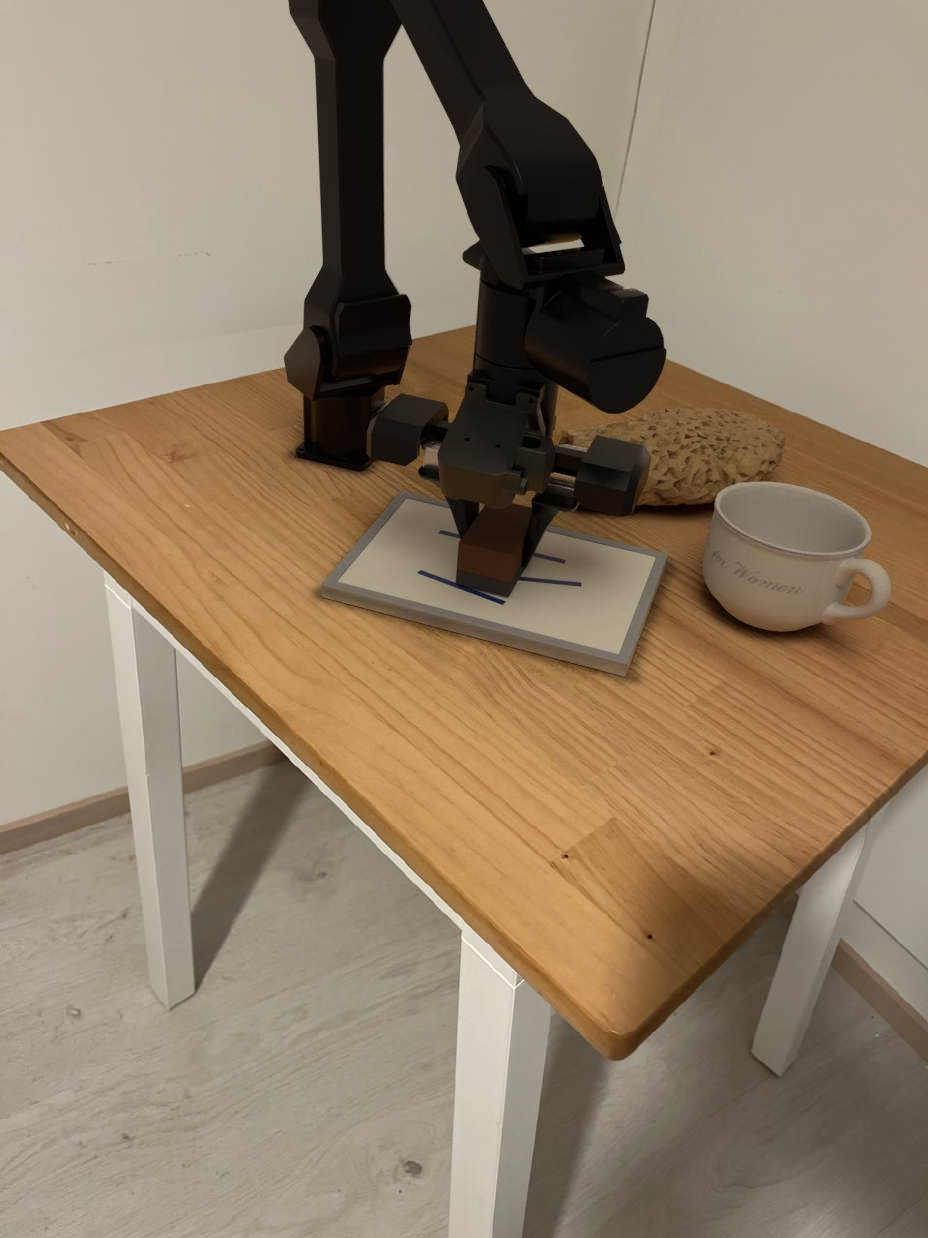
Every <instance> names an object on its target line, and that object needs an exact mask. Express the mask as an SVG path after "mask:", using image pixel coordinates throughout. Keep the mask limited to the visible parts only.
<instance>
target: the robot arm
mask: <svg viewBox="0 0 928 1238" xmlns="http://www.w3.org/2000/svg"><path fill="white" fill-rule="evenodd" d="M287 2H288V11H289V15H290V17H291V19H292V21H293V23H294V24H295V26H296V29H298V31H299V33H300V35H301V37H302V39H303V41H304V42H305V44H306V45H307V47H308V49H309V50H310V52H311V54H312V57H313V59H314V74H315V75H314V76H315V78H314V79H315V101H316V125H317V129H316V130H317V150H318V175H319V177H318V178H319V202H320V204H319V205H320V225H321V226H320V227H321V230H320V231H321V251H322V253H321V255H322V264H321V268H320V269H319V271H318V273H317V275H316V276H315V279H314V281H313V282H312V284H311V286H310V288H309V290H308V291H307V294H306V295H305V298H304V300H303V318H302V319H303V321H302V326H303V327H302V330H301V331H300V333H299V334H298V336H297V337H296V338H295V340H294V341H293V342H292V344H291V345H290V347H289V348H288V349H287V351H286V352H285V354H284V355H283V363H284V368H285V374H286V379H287V382H288V383H289V384H290V385H291V386H293V387H294V388H295V389H296V390H297V391H299V392H300V393H301V394H302V404H303V405H302V409H303V411H302V413H303V415H302V416H303V418H302V419H303V441H302V442H301V443H300V444H299V445H298V446H297V447H295V455H296V456H297V457H299V458H300V457H301V458H305V459H309V460H314V461H318V462H323V463H327V464H330V465H334V466H340V467H344V468H348V469H352V470H356V471H363V470H366V469H367V468H368V466H369V465H370V464H371V463H372V462H373V461H374V460H376V461H380V462H384V463H388V464H392V465H397V466H401V467H407V466H408V465H410V464H411V463H412V462H414V461H416V460H417V459H418V458H419V457H420V456H421V451H422V464H421V466H420V467H419V468H418V469H417V474H418V476H419V478H420V479H421V480H425V481H428V482H430V483H432V484H433V485H435V486H436V487H437V488H439V490H440V492H441V494H442V495H443V496H444V498H445V501H447V502H448V504H449V507H450V509H451V512H452V515H453V518H454V521H455V524H456V527H457V530H458V533H459V536H460V539H461V538H462V537H463V535H464V534H465V533H466V531H467V530H468V528H469V527H470V526H471V524H472V523H473V521H474V520H475V519H476V517H477V516H478V514H479V509H480V504H481V505H484V506H486V507H489V508H493V509H502V508H506V507H508V506H509V505H510V504H511V503H514V500H515V497H516V495H519V496H523V497H524V496H526V494H527V493H528V492H533V493H534V495H533V497H532V498H531V499H530V500H531V501H530V504H531V507H532V513H531V517H530V521H529V525H528V529H527V533H526V537H525V541H524V546H523V551H522V564H521V565H522V567H525V568H526V567H527V566H528V564H529V562H530V561H531V559H532V557H533V555H534V553H535V551H536V549H537V547H538V545H539V543H540V541H541V539H542V537H543V536H544V534H545V532H546V530H547V528H548V526H549V525H550V524H551V522H552V521H553V519H555V517H556V516H557V515H558V513H560V512H562V513H567V514H568V513H573V512H575V511H577V509H578V507H579V505H581V506H582V508H583V509H588V510H592V511H596V512H601V513H604V514H605V513H606V514H610V515H614V516H619V517H626V516H630V515H632V514H633V512H634V510H635V507H636V506H637V505H636V504H637V502H638V499H639V497H640V495H641V493H642V491H643V489H644V486H645V484H646V482H647V479H648V473H649V468H650V463H651V455H650V454H649V452H648V450H647V448H646V446H645V445H642V444H637V443H632V442H628V441H623V440H618V439H614V438H609V437H604V436H600V435H596V437H595V438H594V440H593V442H592V443H591V445H590V447H589V448H588V449H586V448H581V447H577V446H572V445H567V444H563V445H559V446H558V445H556V444H554V441H553V434H554V431H555V430H556V425H557V424H556V423H557V415H556V411H557V410H556V409H557V405H558V396H559V387H561V388H563V389H565V390H566V391H568V392H569V393H571V394H572V395H574V396H576V397H577V398H579V399H581V400H582V401H584V402H586V403H587V404H588V405H591V406H592V407H594V408H595V409H597V410H599V411H600V412H603V413H605V414H609V415H619V414H624V413H626V412H628V411H630V410H632V409H634V408H635V407H637V406H638V405H639V404H641V403H642V402H643V401H644V400H645V399H646V398H647V396H649V394H651V392H652V391H653V389H654V388H655V386H656V385H657V383H658V381H659V379H660V376H661V375H662V373H663V370H664V366H665V363H666V359H667V352H668V351H667V348H666V347H665V337H664V334H663V331H662V329H661V328H660V326H659V324H657V322H656V321H655V320H654V319H652V318H650V317H649V316H647V313H648V307H649V303H650V298H649V294H648V293H645V292H643V291H641V290H639V289H637V288H634V287H628V286H627V287H626V286H623V285H621V284H619V283H617V282H615V281H612V280H611V279H609V277H614V276H621V275H624V273H625V271H626V263H625V260H624V256H623V252H622V249H621V244H622V243H623V241H622V239H621V237H620V234H619V232H618V229H617V227H616V225H615V222H614V219H613V215H612V212H611V208H610V207H611V206H610V204H609V201H608V196H607V193H606V189H605V184H604V179H603V173H602V168H601V167H600V164H599V162H598V159H597V157H596V155H595V154H594V152H593V151H592V149H591V148H590V147H589V145H588V143H587V142H586V141H585V140H584V138H583V137H582V136H581V134H580V133H579V132H578V130H577V129H576V128H575V127H574V125H573V124H572V122H571V121H570V120H569V118H567V117H566V116H564V115H563V114H561V113H560V112H559V111H557V109H555V108H553V107H551V106H550V105H549V104H547V103H546V102H544V101H542V100H541V99H539V98H538V97H537V96H535V94H534V92H533V91H532V90H531V89H530V86H529V85H528V84H527V83H526V81H525V79H524V78H523V75H522V74H521V72H520V69H519V68H518V66H517V64H516V62H515V59H514V58H513V56H512V54H511V52H510V51H509V48H508V46H507V44H506V43H505V40H504V39H503V36H502V35H501V33H500V31H499V29H498V27H497V25H496V23H495V21H494V19H493V18H492V15H491V13H490V11H489V9H488V7H487V6H486V3H485V1H484V0H287ZM402 27H403V29H404V31H405V33H406V35H407V37H408V39H409V41H410V43H411V45H412V47H413V49H414V51H415V53H416V55H417V58H418V59H419V61H420V64H421V65H422V67H423V70H424V72H425V74H426V76H427V78H428V80H429V82H430V83H431V86H432V87H433V89H434V92H435V94H436V96H437V98H438V100H439V102H440V104H441V107H442V108H443V110H444V112H445V114H446V116H447V118H448V120H449V122H450V124H451V126H452V128H453V131H454V133H455V134H454V135H455V136H456V139H457V142H458V145H459V149H458V157H457V163H456V170H455V182H456V184H457V188H458V191H459V193H460V197H461V199H462V202H463V205H464V207H465V210H466V215H467V217H468V219H469V222H470V225H471V227H472V229H473V231H474V233H475V235H476V236H477V238H478V239H479V240H477V241H476V242H475V243H473V244H471V245H470V246H469V247H467V248H466V249H465V250H464V251H463V252H462V256H461V258H462V261H463V262H464V263H466V265H469V266H470V267H472V268H474V269H476V270H478V271H479V281H478V293H477V294H478V295H477V306H476V307H477V308H476V319H475V331H474V344H473V357H472V369H471V371H470V372H469V373H468V374H467V376H466V384H465V386H464V395H463V398H462V401H461V403H460V405H459V408H458V409H457V411H456V414H455V417H454V418H453V420H452V422H451V421H449V416H450V415H449V414H450V409H449V407H448V405H447V403H446V402H444V401H440V400H435V399H431V398H426V397H421V396H418V395H417V396H416V395H412V394H407V393H404V392H403V393H402V392H401V393H399V394H398V395H397V396H396V397H394V398H393V399H392V400H391V401H390V402H389V401H385V394H386V393H385V387H388V386H399V385H401V382H402V380H403V375H404V372H405V367H406V364H407V360H408V357H409V353H410V350H411V346H413V338H412V332H411V314H412V302H411V300H410V297H409V296H408V295H407V293H401V291H400V290H399V288H398V287H397V285H396V283H395V282H394V280H393V279H392V277H391V275H390V273H389V272H388V270H387V262H386V261H387V260H386V257H387V256H386V255H387V254H386V176H385V175H386V170H385V169H386V168H385V167H386V162H385V160H386V159H385V158H386V157H385V154H386V153H385V151H386V150H385V149H386V147H385V60H386V58H387V56H388V54H389V52H390V50H391V49H392V46H393V44H394V42H395V40H396V38H397V37H398V35H399V33H400V30H402ZM579 240H580V242H581V243H582V245H583V246H577V247H570V248H561V249H555V250H548V251H542V252H541V251H540V252H536V251H534V250H532V249H531V248H537V247H543V246H551V245H552V246H553V245H560V244H566V243H573V242H576V241H579ZM607 277H608V278H607Z"/></svg>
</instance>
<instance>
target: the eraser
mask: <svg viewBox="0 0 928 1238" xmlns="http://www.w3.org/2000/svg"><path fill="white" fill-rule="evenodd" d="M531 513H532V506H531V507H530V506H526V505H523V504H518V503H514V502H512V503H511V504H510V505H509V506H508V507H506V508H502V509H493V508H489V507H486V506H485V505H484V506H483V507H482V510H481V512H480V513H479V514H478V516H477V517H476V519H475V520H474V521H473V523H472V524H471V526H470V527H469V528H468V530H467V531H466V533H465V534H464V535H463V537H462V538H461V540H460V541H459V545H458V558H457V572H456V584H459V585H463V586H467V587H471V588H475V589H479V590H483V591H487V592H491V593H495V594H499V595H503V596H507V597H509V595H510V594H511V592H512V590H513V588H514V587H515V585H516V583H517V582H518V580H519V578H520V576H521V575H522V573H523V571H524V570H525V567H522V565H521V564H522V551H523V546H524V541H525V537H526V533H527V529H528V525H529V521H530V517H531Z"/></svg>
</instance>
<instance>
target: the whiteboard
mask: <svg viewBox="0 0 928 1238" xmlns="http://www.w3.org/2000/svg"><path fill="white" fill-rule="evenodd" d="M482 509H483V508H482ZM482 509H481V508H479V513H480V512H481V510H482ZM460 540H461V539H460V536H459V533H458V530H457V527H456V524H455V521H454V518H453V515H452V512H451V509H450V507H449V504H448V502H447V500H443V499H439V498H434V497H430V496H426V495H422V494H417V493H413V492H408V491H404V490H400V491H399V492H398V494H397V495H396V496H395V497H394V498H393V499H392V500H391V502H390V503H389V504H388V505H387V507H386V508H384V510H383V511H382V512H381V514H380V515H379V516H378V517H377V518H376V520H375V521H374V522H373V523H372V524H371V525H370V527H368V529H367V530H366V531H365V533H364V534H363V535H362V536H361V537H360V538H359V539H358V540H357V542H356V543H355V544H354V545H353V546H352V547H351V549H350V550H349V551H348V553H346V554H345V556H344V557H343V558H342V559H341V560H340V562H339V563H338V564H337V565H336V566H335V567H334V569H333V570H332V571H331V572H330V573H329V575H328V576H327V577H326V578H325V579H324V581H322V583H321V598H324V599H327V600H332V601H335V602H339V603H341V604H347V605H350V606H355V607H359V608H362V609H366V610H370V611H373V612H376V613H381V614H385V615H389V616H392V617H396V618H400V619H403V620H408V621H412V622H415V623H418V624H423V625H427V626H431V627H434V628H438V629H441V630H445V631H448V632H452V633H457V634H461V635H465V636H468V637H472V638H476V639H479V640H484V641H487V642H491V643H495V644H499V645H503V646H507V647H509V648H514V649H518V650H521V651H525V652H528V653H533V654H537V655H540V656H544V657H548V658H552V659H555V660H559V661H563V662H567V663H571V664H574V665H579V666H583V667H585V668H590V669H594V670H596V671H601V672H605V673H608V674H613V675H616V676H620V677H624V678H625V677H626V676H627V674H628V671H629V669H630V666H631V663H632V660H633V658H634V655H635V653H636V649H637V647H638V644H639V642H640V638H641V636H642V633H643V630H644V628H645V624H646V622H647V619H648V617H649V613H650V611H651V608H652V606H653V602H654V600H655V597H656V594H657V592H658V589H659V587H660V584H661V581H662V578H663V575H664V572H665V570H666V567H667V563H668V560H669V554H670V553H668V552H664V551H661V550H657V549H652V548H648V547H643V546H639V545H635V544H630V543H627V542H622V541H617V540H614V539H609V538H605V537H600V536H597V535H592V534H588V533H583V532H580V531H576V530H572V529H571V530H570V529H566V528H562V527H559V526H558V527H557V526H554V525H550V524H549V526H548V528H547V530H546V532H545V534H544V536H543V537H542V539H541V541H540V543H539V545H538V547H537V549H536V551H535V553H534V555H533V557H532V559H531V561H530V562H529V564H528V566H527V567H526V568H525V570H524V571H523V573H522V575H521V576H520V578H519V580H518V582H517V583H516V585H515V587H514V588H513V590H512V592H511V594H510V595H509V597H507V596H503V595H499V594H495V593H491V592H487V591H483V590H479V589H475V588H471V587H467V586H463V585H459V584H456V572H457V558H458V545H459V541H460Z"/></svg>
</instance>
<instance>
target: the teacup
mask: <svg viewBox="0 0 928 1238" xmlns="http://www.w3.org/2000/svg"><path fill="white" fill-rule="evenodd" d="M713 508H714V510H713V512H712V513H713V514H712V517H711V521H710V525H709V527H708V532H707V537H706V541H705V544H704V550H703V557H702V576H703V580H704V583H705V585H706V587H707V588H708V590H709V592H710V594H711V595H712V596H713V598H715V599H716V600H717V601H718V603H719V604H720V605H721V607H722V608H723V609H724V610H725V611H726V612H727V613H728V614H729V615H731V616H732V617H734V618H735V619H737V620H738V621H740V622H742V623H744V624H746V625H749V626H752V627H755V628H758V629H761V630H765V631H770V632H780V633H781V632H782V633H783V632H794V631H799V630H802V629H805V628H807V627H810V626H815V625H818V624H820V623H822V624H824V625H834V624H836V623H838V622H839V621H859V620H866V619H869V618H871V617H874V616H876V615H877V614H879V613H881V612H882V611H883V610H884V609H885V608H886V606H887V605H888V603H889V600H890V598H891V596H892V595H891V594H892V583H891V580H890V576H889V574H888V572H887V571H886V569H885V568H883V566H881V564H879V562H877V561H876V562H875V561H874V560H871V559H867V558H863V557H864V554H865V551H866V548H867V547H868V546H869V544H870V542H871V541H872V535H873V534H872V528H871V526H870V524H869V523H868V521H867V520H866V519H865V517H864V516H863V515H861V514H860V513H859V512H858V511H857V510H855V509H854V508H853V507H851V506H850V505H848V503H847V504H846V503H845V502H843V501H841V500H839V499H838V498H835V497H833V496H832V495H829V494H826V493H824V492H822V491H817V490H814V489H812V488H810V487H809V488H808V487H804V486H800V485H795V484H791V483H785V482H779V481H764V480H762V481H759V482H742V483H737V484H735V485H731V486H729V487H726V488H724V489H723V490H722V491H720V492H719V493H718V494H717V496H716V499H715V501H713ZM856 575H861V576H862V577H864V578H865V579H866V580H867V582H868V584H869V586H870V592H871V594H870V595H871V596H870V598H869V600H868V601H867V602H866V603H864V604H863V605H854V606H852V605H846V604H845V605H844V602H845V601H846V599H847V597H848V595H849V592H850V590H851V589H852V586H853V583H854V581H855V578H856Z"/></svg>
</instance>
